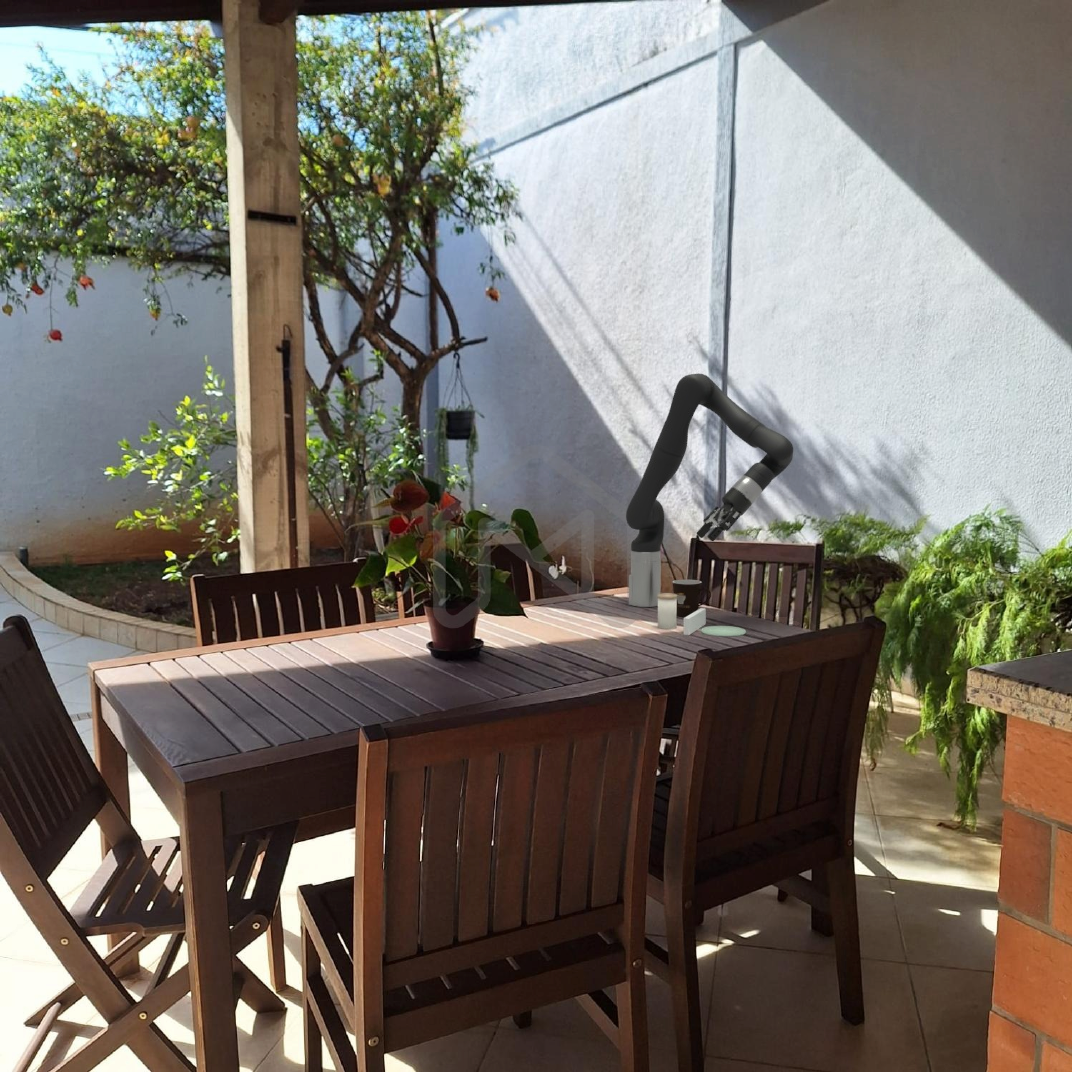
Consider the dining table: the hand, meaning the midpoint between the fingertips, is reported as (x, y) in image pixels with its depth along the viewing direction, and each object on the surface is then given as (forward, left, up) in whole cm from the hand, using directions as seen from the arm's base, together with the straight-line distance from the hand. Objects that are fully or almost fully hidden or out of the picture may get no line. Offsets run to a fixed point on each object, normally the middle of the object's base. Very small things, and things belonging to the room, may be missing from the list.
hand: (704, 537), depth 272 cm
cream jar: (-8, -9, -25) cm, 27 cm away
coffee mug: (-7, +9, -25) cm, 27 cm away
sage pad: (+8, -9, -25) cm, 27 cm away
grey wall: (0, -9, -25) cm, 26 cm away
